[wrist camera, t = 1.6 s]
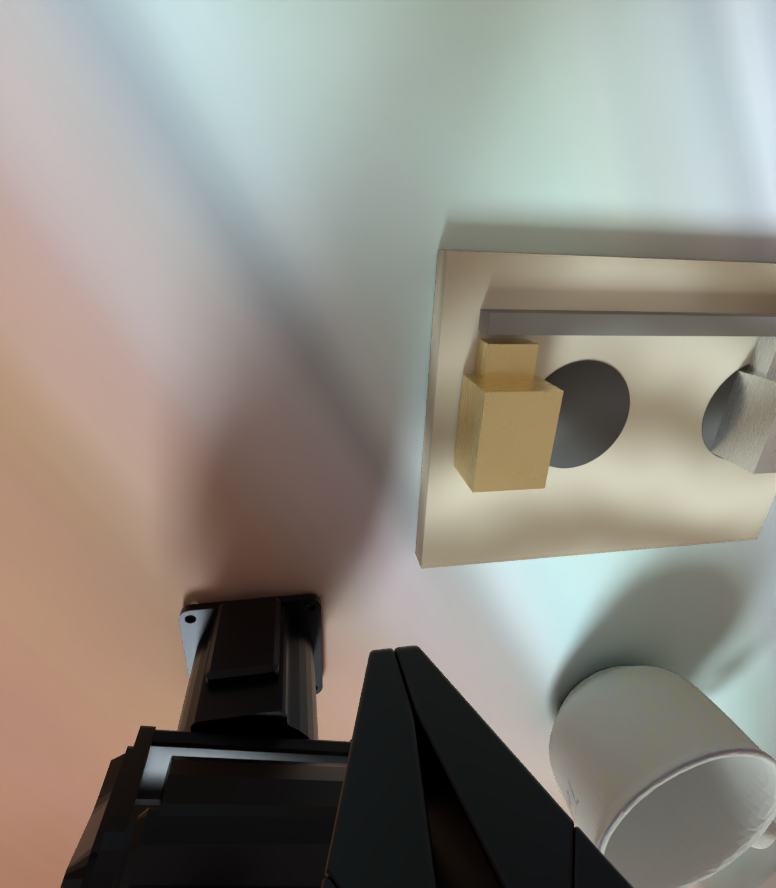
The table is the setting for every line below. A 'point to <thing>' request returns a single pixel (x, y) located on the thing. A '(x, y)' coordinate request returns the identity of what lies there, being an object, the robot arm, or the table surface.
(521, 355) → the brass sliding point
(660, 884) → the grey rounded container
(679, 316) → the plate
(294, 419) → the table surface
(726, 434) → the block
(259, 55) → the table surface
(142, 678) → the table surface
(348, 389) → the table surface
